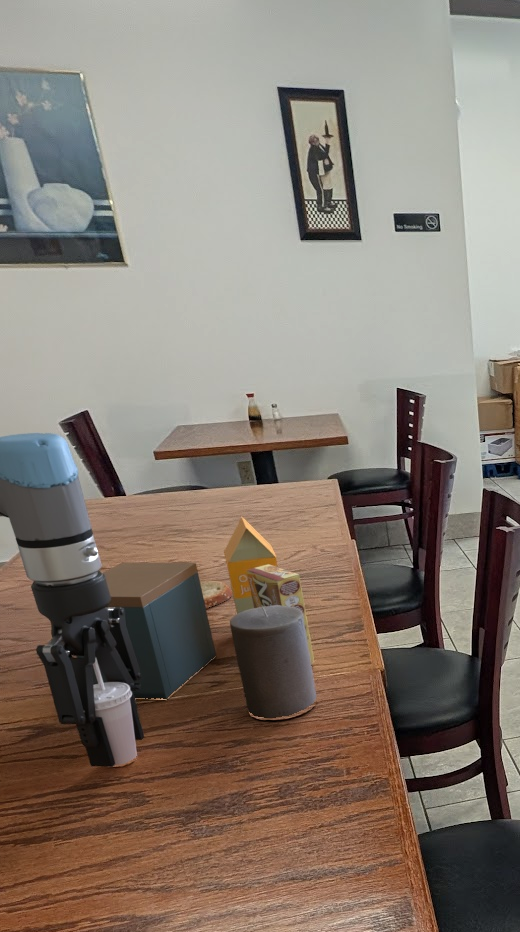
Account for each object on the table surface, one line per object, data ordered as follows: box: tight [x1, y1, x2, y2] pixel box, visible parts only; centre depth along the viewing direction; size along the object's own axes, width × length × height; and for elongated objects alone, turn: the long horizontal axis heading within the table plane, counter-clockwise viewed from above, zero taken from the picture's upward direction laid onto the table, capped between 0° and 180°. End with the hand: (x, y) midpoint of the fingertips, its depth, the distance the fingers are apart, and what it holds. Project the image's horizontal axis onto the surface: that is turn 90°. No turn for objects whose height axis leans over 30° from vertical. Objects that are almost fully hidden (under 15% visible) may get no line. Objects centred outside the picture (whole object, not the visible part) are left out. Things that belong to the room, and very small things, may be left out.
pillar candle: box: [229, 605, 317, 718], centre depth 114 cm, size 10×10×15 cm
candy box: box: [247, 564, 315, 664], centre depth 128 cm, size 9×4×15 cm, turn 50°
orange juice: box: [223, 515, 279, 614], centre depth 138 cm, size 8×9×20 cm
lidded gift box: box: [75, 561, 217, 699], centre depth 124 cm, size 12×16×16 cm
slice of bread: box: [200, 580, 233, 610], centre depth 156 cm, size 18×18×4 cm
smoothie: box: [83, 657, 138, 766], centre depth 101 cm, size 6×6×14 cm
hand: (118, 751), depth 104 cm, fingers closed on smoothie, 6 cm apart
